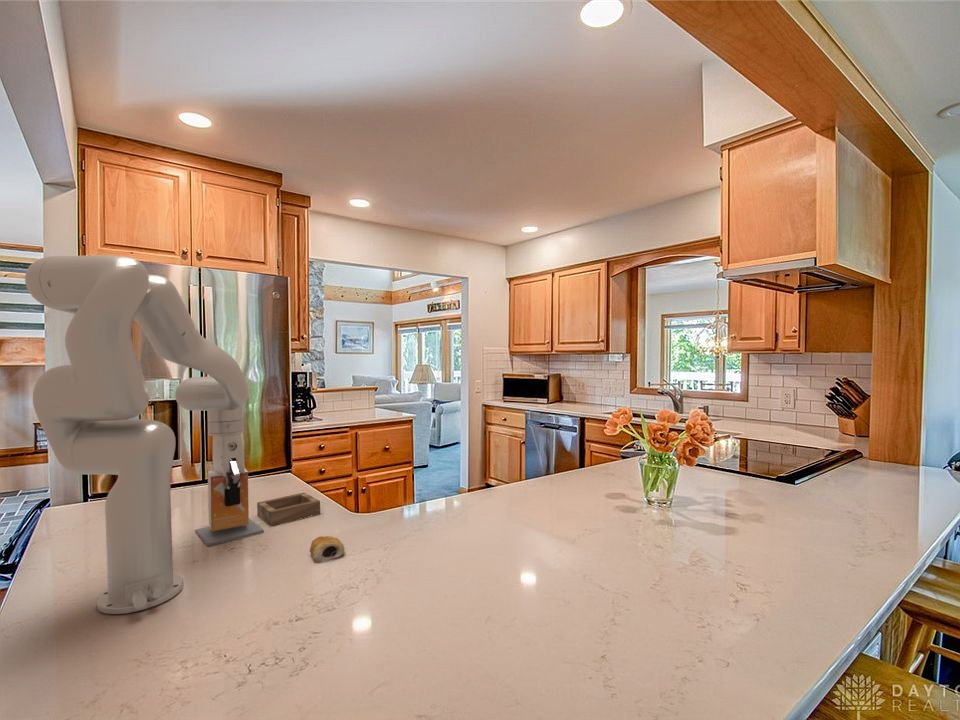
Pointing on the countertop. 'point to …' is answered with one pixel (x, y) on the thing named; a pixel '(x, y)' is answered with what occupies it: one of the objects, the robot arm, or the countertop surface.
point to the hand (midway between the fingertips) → (228, 500)
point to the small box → (216, 503)
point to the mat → (228, 533)
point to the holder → (288, 508)
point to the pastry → (326, 548)
